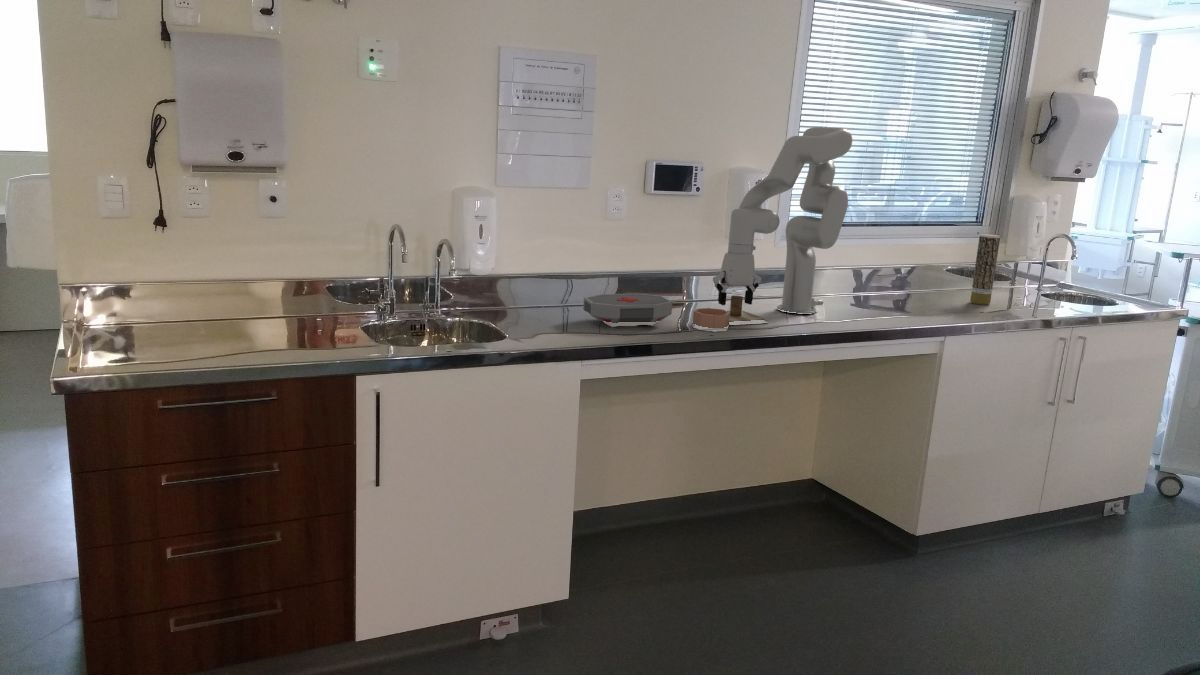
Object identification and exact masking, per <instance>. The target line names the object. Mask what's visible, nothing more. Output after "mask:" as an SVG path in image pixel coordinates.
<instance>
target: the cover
mask: <svg viewBox="0 0 1200 675" xmlns="http://www.w3.org/2000/svg"><path fill="white" fill-rule="evenodd" d="M743 302H744V301H743V296H741V295H731V296H730V306H729V310H727V311H728V312H730V314H729V322H734V321H751V320H766V319H765V318H764V317H761V316H758V315H755V314H753V313H751V312H747V311H745V310H743Z"/></svg>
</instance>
